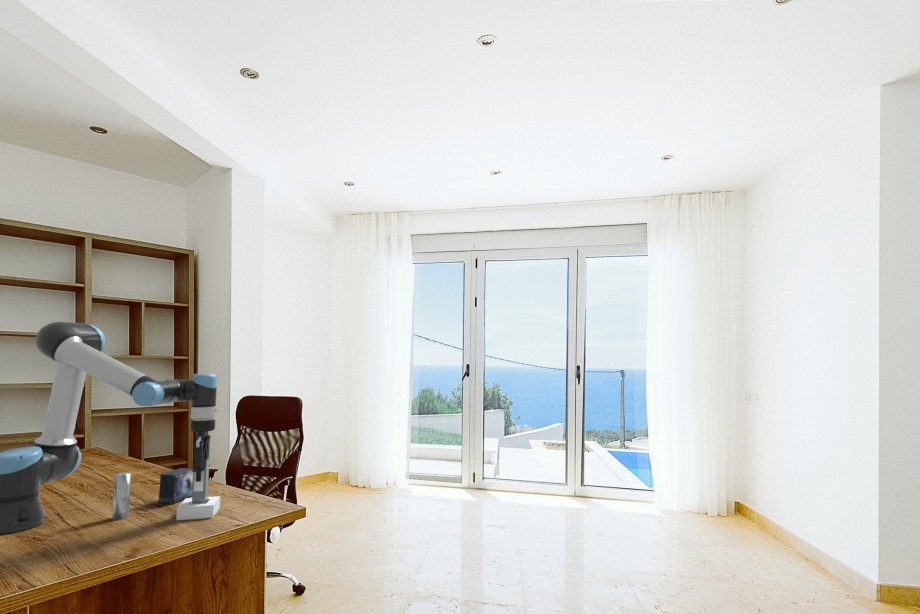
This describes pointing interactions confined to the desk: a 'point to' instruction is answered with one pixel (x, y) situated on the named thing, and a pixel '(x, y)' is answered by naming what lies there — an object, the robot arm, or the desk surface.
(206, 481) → the square bit
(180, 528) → the desk surface
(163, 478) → the small box
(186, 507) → the socket block
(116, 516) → the round bit
